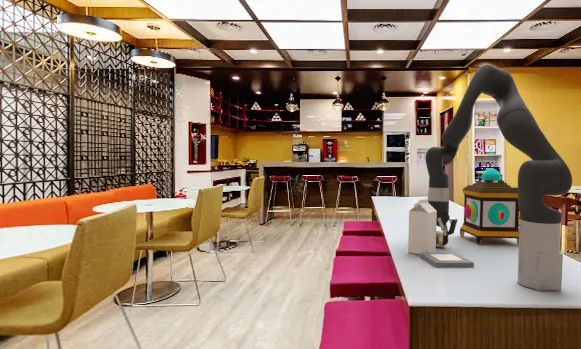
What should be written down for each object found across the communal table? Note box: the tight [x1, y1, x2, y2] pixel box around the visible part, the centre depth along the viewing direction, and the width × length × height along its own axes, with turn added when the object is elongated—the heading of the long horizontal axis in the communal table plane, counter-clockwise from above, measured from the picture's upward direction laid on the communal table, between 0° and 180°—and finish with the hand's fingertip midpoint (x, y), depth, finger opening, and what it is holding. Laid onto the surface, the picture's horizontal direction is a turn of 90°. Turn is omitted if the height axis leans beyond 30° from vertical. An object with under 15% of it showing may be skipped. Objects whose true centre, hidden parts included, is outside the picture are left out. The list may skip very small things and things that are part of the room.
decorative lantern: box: [459, 167, 520, 246], centre depth 157 cm, size 20×20×30 cm
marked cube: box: [436, 230, 446, 248], centre depth 145 cm, size 5×5×5 cm
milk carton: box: [407, 198, 437, 256], centre depth 135 cm, size 7×7×19 cm
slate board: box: [419, 252, 475, 268], centre depth 124 cm, size 12×12×2 cm
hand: (437, 243), depth 145 cm, fingers closed on marked cube, 5 cm apart
